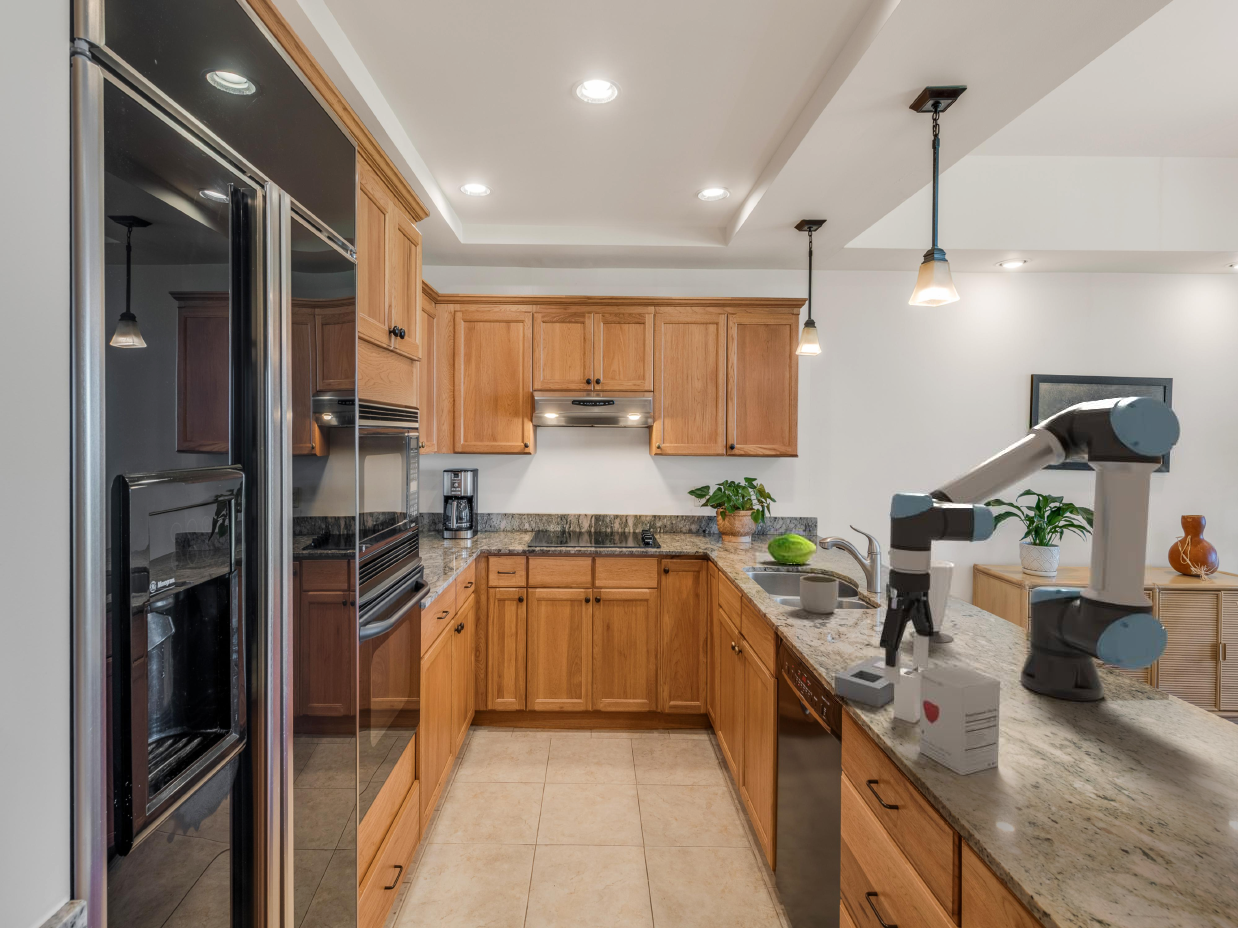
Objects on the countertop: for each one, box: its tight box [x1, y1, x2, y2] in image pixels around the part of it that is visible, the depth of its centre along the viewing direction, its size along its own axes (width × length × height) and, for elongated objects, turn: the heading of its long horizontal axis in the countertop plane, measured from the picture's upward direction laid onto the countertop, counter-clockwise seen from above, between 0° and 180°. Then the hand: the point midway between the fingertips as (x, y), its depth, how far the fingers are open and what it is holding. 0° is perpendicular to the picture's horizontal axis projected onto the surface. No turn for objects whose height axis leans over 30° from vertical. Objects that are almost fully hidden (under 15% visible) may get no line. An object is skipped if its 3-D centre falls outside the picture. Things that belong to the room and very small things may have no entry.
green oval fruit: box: [766, 533, 817, 565], centre depth 293 cm, size 15×23×16 cm
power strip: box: [833, 655, 919, 708], centre depth 138 cm, size 10×20×4 cm, turn 132°
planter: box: [799, 574, 839, 615], centre depth 206 cm, size 12×12×11 cm
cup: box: [909, 559, 955, 644], centre depth 177 cm, size 12×12×22 cm
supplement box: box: [919, 663, 1001, 776], centre depth 106 cm, size 9×9×15 cm
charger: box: [893, 668, 921, 724], centre depth 124 cm, size 4×4×9 cm
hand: (906, 674), depth 123 cm, fingers open, 13 cm apart
